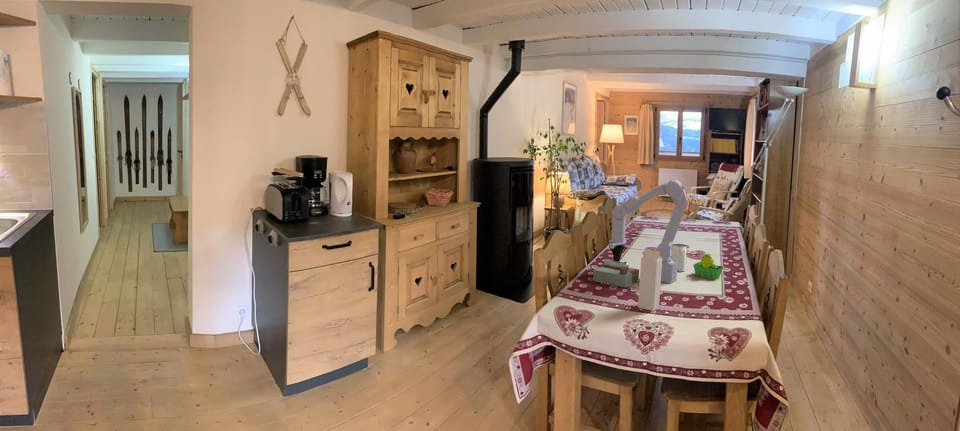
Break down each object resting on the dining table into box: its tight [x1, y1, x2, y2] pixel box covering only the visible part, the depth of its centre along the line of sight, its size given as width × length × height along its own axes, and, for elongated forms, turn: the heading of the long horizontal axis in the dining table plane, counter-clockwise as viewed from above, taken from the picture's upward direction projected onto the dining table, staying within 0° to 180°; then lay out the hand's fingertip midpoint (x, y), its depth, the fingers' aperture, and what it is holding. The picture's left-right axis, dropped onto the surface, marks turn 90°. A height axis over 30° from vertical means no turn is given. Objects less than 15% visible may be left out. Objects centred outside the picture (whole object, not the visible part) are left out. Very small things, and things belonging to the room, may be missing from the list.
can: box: [670, 243, 687, 273], centre depth 259 cm, size 6×6×12 cm
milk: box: [637, 249, 662, 312], centre depth 207 cm, size 6×6×22 cm
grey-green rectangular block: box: [592, 266, 633, 288], centre depth 239 cm, size 15×6×7 cm, turn 51°
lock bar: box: [603, 258, 630, 268], centre depth 244 cm, size 11×3×3 cm, turn 51°
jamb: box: [600, 264, 640, 285], centre depth 244 cm, size 15×6×5 cm, turn 51°
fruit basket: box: [692, 253, 725, 280], centre depth 249 cm, size 11×9×11 cm
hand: (616, 261), depth 251 cm, fingers closed
